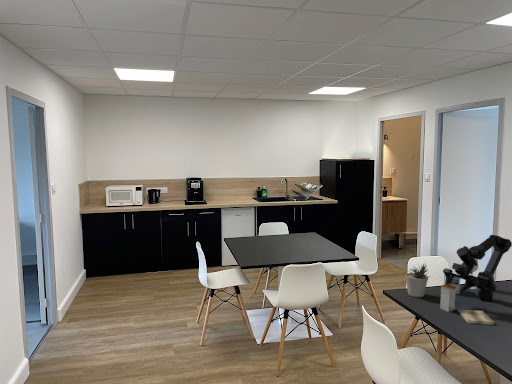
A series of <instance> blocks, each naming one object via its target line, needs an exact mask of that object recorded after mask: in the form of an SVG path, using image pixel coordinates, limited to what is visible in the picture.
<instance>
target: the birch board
mask: <svg viewBox="0 0 512 384" xmlns="http://www.w3.org/2000/svg"><path fill="white" fill-rule="evenodd" d="M458 312H459V313H460V314H459V313H458ZM457 313H458V314H459V315H460V316H461V317H462V319H464V320H465V322H466V323H467V324H474V323H475V324H474V325H476V324H477V325H492V326H494V325H495V321H494V320H493V319H492V318H490V317H489V316H488V315H487V313H486V312H484V310H476V309H475V310H473V309H458V310H457Z"/></svg>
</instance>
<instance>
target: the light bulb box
mask: <svg viewBox="0 0 512 384" xmlns="http://www.w3.org/2000/svg"><path fill="white" fill-rule="evenodd" d="M453 273H456V272H455V271H453ZM452 279H453V280H452V281H451V283H450V284H449V285H452V286H455V287H456V292H455V295H460V290H461V287H460V286H461V285H460V284H461V278H457V277H454V278H452ZM445 281H446V275H445V274H444V273H443V285H445Z"/></svg>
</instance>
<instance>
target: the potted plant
mask: <svg viewBox="0 0 512 384" xmlns="http://www.w3.org/2000/svg"><path fill="white" fill-rule="evenodd" d="M417 266H418V268H417V267H416V266H415V265H412V268H408V272H409V273H408V272H407V273H406V274H405V280H406V281H405V282H406V289H407V290H406V291H407V294H408V295H409V296H410V297H414V298H423V297H424V296H425V293H426V289H427V285H428V280H429V278H430V277H431V275H430V276H428V273H427V272H428V270H429V268H427V267H428V265H427V264H426V263H425V261H424V263H422V264H421V265H420V266H421V267H420V266H419V264H417Z"/></svg>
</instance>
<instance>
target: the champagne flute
mask: <svg viewBox="0 0 512 384" xmlns="http://www.w3.org/2000/svg"><path fill="white" fill-rule="evenodd" d="M475 260H476V261H477V264H478V266H474V268H473V269H472V274H470V275H472V276H474V273H476V271H477V270H479V260H478V259H475ZM469 289H471V290H477V289H478V288H477V286H475V287H471V288H469Z"/></svg>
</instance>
